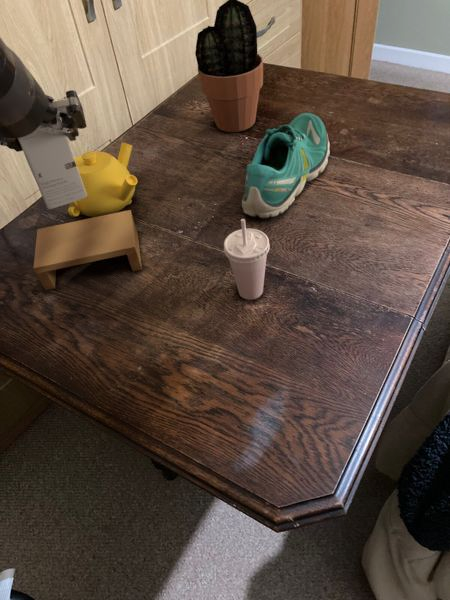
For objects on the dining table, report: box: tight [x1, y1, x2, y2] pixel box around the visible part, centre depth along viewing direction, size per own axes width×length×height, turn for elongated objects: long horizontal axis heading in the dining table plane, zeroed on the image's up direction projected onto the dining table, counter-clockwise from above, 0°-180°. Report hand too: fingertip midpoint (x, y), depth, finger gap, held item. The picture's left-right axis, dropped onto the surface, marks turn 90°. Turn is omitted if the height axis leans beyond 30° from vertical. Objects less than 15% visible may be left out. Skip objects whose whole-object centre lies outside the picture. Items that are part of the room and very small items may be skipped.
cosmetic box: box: [18, 123, 87, 211], centre depth 68 cm, size 6×4×12 cm
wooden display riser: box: [33, 209, 143, 291], centre depth 82 cm, size 16×10×5 cm, turn 102°
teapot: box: [67, 142, 138, 218], centre depth 90 cm, size 14×14×11 cm
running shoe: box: [241, 112, 331, 219], centre depth 89 cm, size 11×29×11 cm, turn 155°
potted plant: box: [194, 0, 264, 133], centre depth 102 cm, size 14×14×25 cm
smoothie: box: [223, 218, 271, 301], centre depth 70 cm, size 6×6×14 cm
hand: (45, 138), depth 67 cm, fingers closed on cosmetic box, 6 cm apart
